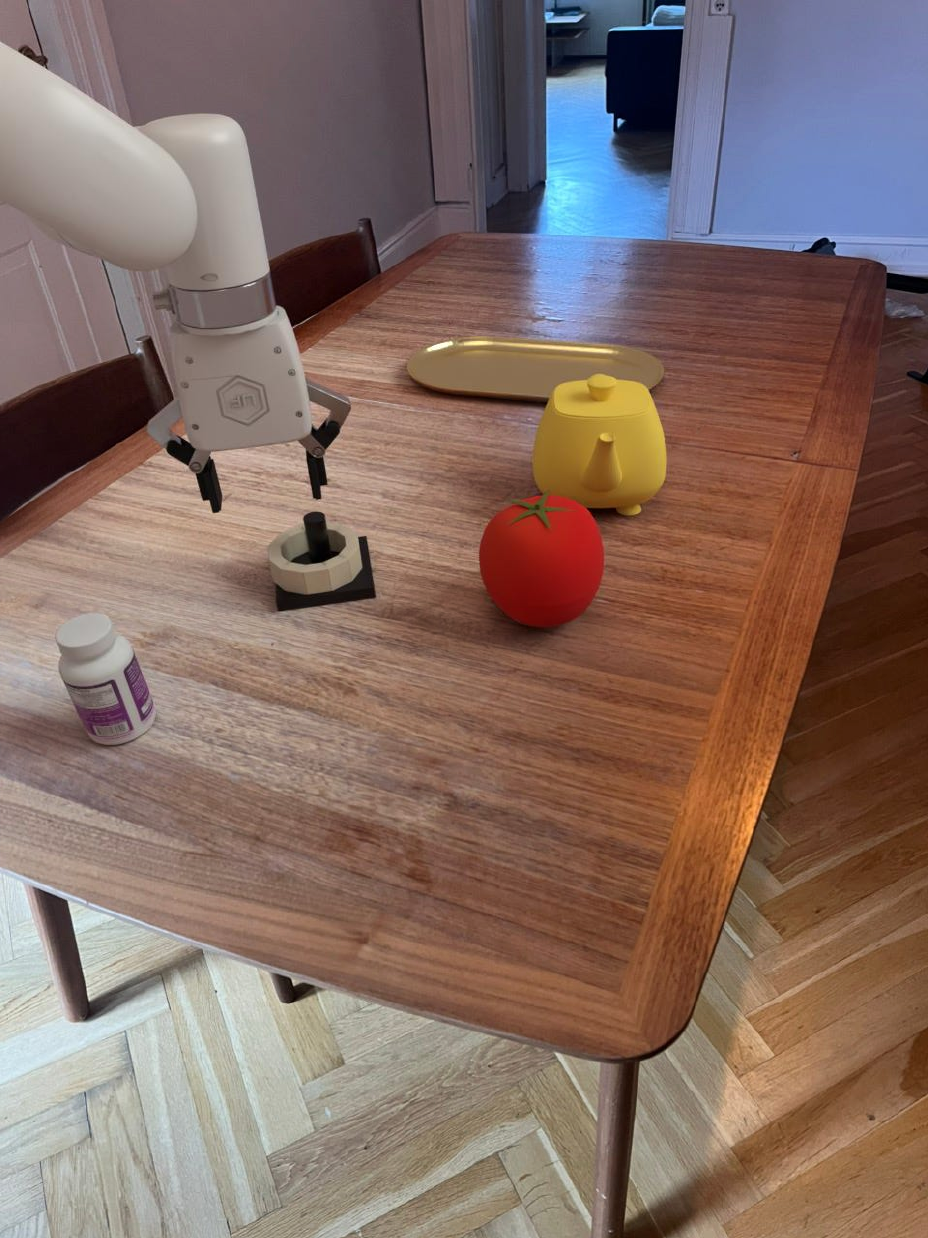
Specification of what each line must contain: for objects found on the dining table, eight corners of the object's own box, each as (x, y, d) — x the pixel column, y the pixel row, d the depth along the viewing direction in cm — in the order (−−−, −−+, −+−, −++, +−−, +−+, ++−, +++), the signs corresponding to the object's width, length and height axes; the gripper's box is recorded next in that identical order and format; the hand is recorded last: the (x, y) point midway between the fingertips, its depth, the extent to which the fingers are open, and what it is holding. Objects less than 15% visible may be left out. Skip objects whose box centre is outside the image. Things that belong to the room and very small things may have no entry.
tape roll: (272, 600, 80) (267, 577, 78) (272, 550, 87) (267, 528, 85) (365, 586, 81) (361, 564, 79) (358, 538, 87) (354, 516, 86)
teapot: (656, 455, 100) (665, 345, 92) (673, 553, 84) (686, 431, 77) (534, 456, 101) (533, 347, 94) (529, 553, 86) (527, 432, 78)
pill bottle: (125, 692, 73) (88, 598, 67) (171, 713, 70) (137, 617, 65) (72, 734, 69) (28, 638, 63) (119, 757, 67) (78, 660, 61)
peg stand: (277, 611, 81) (263, 550, 76) (277, 558, 88) (264, 499, 83) (376, 597, 81) (367, 535, 77) (367, 545, 88) (359, 486, 84)
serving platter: (650, 417, 108) (651, 405, 107) (386, 393, 118) (385, 382, 117) (673, 359, 122) (674, 348, 121) (435, 342, 132) (434, 332, 131)
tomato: (628, 607, 78) (636, 500, 72) (547, 664, 73) (547, 555, 66) (540, 562, 84) (540, 460, 78) (460, 611, 79) (452, 507, 72)
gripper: (101, 329, 64) (163, 534, 75) (341, 303, 66) (368, 507, 76) (116, 297, 70) (172, 491, 81) (335, 274, 72) (361, 467, 82)
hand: (267, 498), depth 78 cm, fingers open, 8 cm apart
